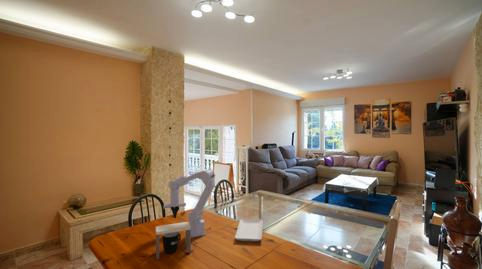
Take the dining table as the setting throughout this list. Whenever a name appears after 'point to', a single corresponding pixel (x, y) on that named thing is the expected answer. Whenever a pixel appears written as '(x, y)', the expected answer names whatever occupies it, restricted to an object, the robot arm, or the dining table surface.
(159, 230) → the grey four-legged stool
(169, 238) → the mug
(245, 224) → the tray
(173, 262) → the dining table surface
